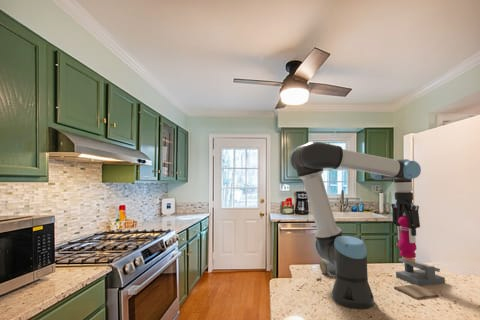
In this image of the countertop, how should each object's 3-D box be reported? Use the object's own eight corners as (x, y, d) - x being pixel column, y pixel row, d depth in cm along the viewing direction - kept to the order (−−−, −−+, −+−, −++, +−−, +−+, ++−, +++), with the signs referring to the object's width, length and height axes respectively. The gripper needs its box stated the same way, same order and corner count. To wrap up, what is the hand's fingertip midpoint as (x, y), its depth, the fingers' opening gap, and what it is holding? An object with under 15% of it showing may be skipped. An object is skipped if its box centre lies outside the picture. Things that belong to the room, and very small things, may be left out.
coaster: (416, 299, 103) (416, 297, 103) (394, 288, 114) (394, 286, 114) (438, 296, 106) (438, 294, 106) (415, 286, 117) (414, 284, 117)
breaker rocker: (414, 268, 118) (415, 259, 119) (398, 262, 127) (399, 254, 128) (439, 274, 121) (440, 265, 122) (421, 268, 130) (422, 260, 131)
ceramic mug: (318, 271, 137) (318, 256, 137) (333, 270, 139) (332, 255, 139) (329, 279, 127) (329, 262, 127) (345, 277, 128) (344, 261, 129)
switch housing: (418, 286, 116) (417, 268, 117) (395, 276, 128) (394, 260, 129) (445, 283, 119) (444, 265, 120) (421, 274, 132) (419, 258, 132)
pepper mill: (420, 258, 120) (417, 213, 122) (404, 258, 120) (401, 213, 122) (410, 254, 127) (408, 212, 129) (395, 254, 127) (393, 212, 129)
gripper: (427, 192, 118) (431, 245, 116) (394, 191, 136) (397, 237, 134) (414, 192, 116) (417, 246, 114) (382, 191, 134) (384, 237, 132)
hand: (406, 241), depth 124 cm, fingers closed on pepper mill, 6 cm apart
